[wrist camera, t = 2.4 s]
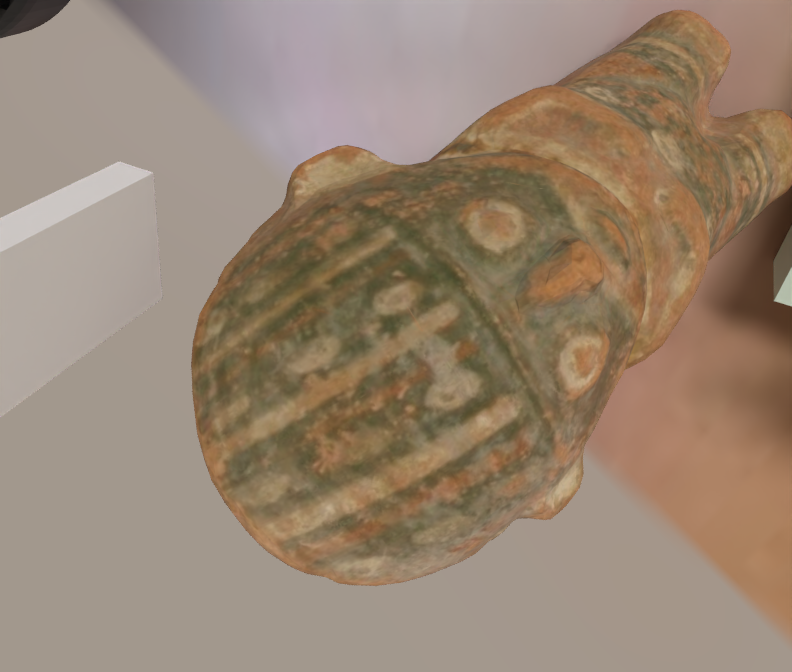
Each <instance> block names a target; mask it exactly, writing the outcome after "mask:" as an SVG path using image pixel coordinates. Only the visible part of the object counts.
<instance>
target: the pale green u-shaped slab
mask: <svg viewBox="0 0 792 672" xmlns="http://www.w3.org/2000/svg"><path fill="white" fill-rule="evenodd" d="M773 271H774V301H776V302H779V303H782V304H785V305H789V306H792V225H791V227H790V229H789V231H788V233H787V235H786V237H785V239H784V241H783V243H782V245H781V247H780V249H779V251H778V253H777V255H776V257H775V259H774V261H773Z"/></svg>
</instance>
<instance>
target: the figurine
mask: <svg viewBox="0 0 792 672" xmlns="http://www.w3.org/2000/svg"><path fill="white" fill-rule="evenodd" d="M730 54H731V49H730V46H729V43H728V41H727V40H726V39H725V37H724V36H723V35H722V34H721V33H720V32H719V31H717V30H716V29H715V28H714V27H713V26H712V25H711V24H710V23H709V22H708V21H707V20H706V19H704V18H703V17H701V16H700V15H698V14H696V13H694V12H691V11H684V10H674V11H670V12H667V13H663V14H661V15H658V16H656V17H655V18H653V19H652V20H650V21H649V22H648V23H646V24H645V25H644V26H643V27H641V28H640V29H639V30H638V31H636V32H635V33H634V34H633V35H631V36H630V37H629V38H628V39H626V40H625V41H623V42H622V43H621V44H619V45H618V46H617V47H615V48H614V49H612V50H611V51H610V52H608V53H606V54H604V55H602V56H600V57H598V58H596V59H594V60H592V61H591V62H589V63H587V64H586V65H584V66H582V67H581V68H579V69H578V70H576V71H574V72H573V73H571V74H570V75H568V76H567V77H565V78H564V79H562V80H561V81H559V82H558V83H556V84H555V85H553V86H551V85H549V86H544V87H540V88H535V89H532V90H530V91H528V92H526V93H524V94H521V95H519V96H517V97H515V98H513V99H510V100H508V101H506V102H504V103H502V104H500V105H499V106H497V107H495V108H493V109H491V110H490V111H489V112H487V113H486V114H485V115H483V116H482V117H481V118H479V119H478V120H476V121H475V122H474V123H473V124H472V125H471V126H469V127H468V128H467V129H466V130H465V131H464V132H462V133H461V134H460V135H459V136H458V137H457V138H455V139H454V140H453V141H452V142H451V143H450V144H449V145H448V146H446V147H445V148H444V149H443V150H441V151H440V152H439V153H438V154H437V155H435V156H434V157H433V158H432V159H431V160H429V161H428V162H423V163H418V164H413V165H397V164H393V163H390V162H387V161H384V160H382V159H381V158H379V157H378V156H376V155H375V154H374V153H372V152H370V151H367V150H365V149H362V148H358V147H354V146H349V145H345V146H337V147H335V148H332V149H330V150H327V151H325V152H323V153H320V154H318V155H316V156H314V157H312V158H310V159H309V160H307V161H305V162H303V163H301V164H300V165H298V166H297V167H296V169H295V170H294V171H293V172H292V175H291V178H290V180H289V183H288V187H287V194H286V198H285V200H284V202H283V205H282V207H281V208H280V209H279V210H278V211H276V213H274V214H273V215H272V216H271V217H270V218H269V219H268V220H267V221H266V222H265V223H263V224H262V225H261V226H260V227H259V228H258V229H257V230H256V231H255V232H254V233H253V234H252V236H251V237H250V239H249V241H248V242H247V243H246V244H245V245H244V247H243V248H242V249H241V250H240V251H239V252H238V253H237V254H236V256H235V257H234V258H233V259H232V260H231V261H230V262H229V263H228V264H227V266H225V268H224V270H223V272H222V274H221V276H220V277H219V280H218V284H217V285H216V287H215V288H214V290H213V291H212V293H211V295H210V296H209V298H208V300H207V302H206V304H205V305H204V307H203V309H202V311H201V313H200V315H199V319H198V324H197V328H196V332H195V336H194V340H193V349H192V362H191V367H192V389H193V391H192V392H193V401H194V410H195V418H196V427H197V434H198V438H199V442H200V445H201V449H202V452H203V456H204V460H205V462H206V466H207V468H208V471H209V474H210V476H211V480H212V482H213V483H214V485H215V487H216V488H217V490H218V492H219V493H220V495H221V497H222V499H223V500H224V502H225V503H226V505H227V506H228V507H229V509H230V510H231V511H232V513H233V514H234V515H235V517H236V518H237V519H238V521H239V522H240V523H241V524H242V526H243V527H244V528H245V529H246V531H247V532H248V533H249V534H250V535H251V536H252V537H253V538H254V539H255V540H256V541H257V543H259V544H260V545H261V546H262V547H263V548H264V549H265V550H266V551H268V552H269V553H270V554H272V555H273V556H275V557H276V558H278V559H280V560H281V561H282V562H284V563H285V564H287V565H289V566H291V567H293V568H295V569H297V570H299V571H302V572H304V573H307V574H311V575H317V576H323V577H327V578H329V579H331V580H333V581H335V582H337V583H341V584H348V585H369V586H378V585H386V584H393V583H401V582H405V581H409V580H412V579H416V578H419V577H423V576H426V575H429V574H432V573H435V572H437V571H439V570H442V569H444V568H447V567H449V566H451V565H454V564H457V563H459V562H461V561H463V560H465V559H467V558H469V557H470V556H472V555H474V554H475V553H477V552H478V551H479V550H480V549H481V548H482V547H483V546H484V545H485V544H486V543H487V542H488V541H490V540H493V539H494V538H496V537H497V536H498V535H500V534H501V533H502V532H503V531H504V530H505V529H506V528H507V527H508V526H509V525H510V523H511V522H513V521H514V520H516V519H518V518H533V519H542V520H547V519H551V518H553V517H554V516H555V515H556V514H558V513H559V512H560V511H561V510H562V509H563V508H564V507H565V506H566V505H567V504H568V503H569V501H570V500H571V499H572V497H573V496H574V495H575V493H576V492H577V490H578V489H579V487H580V484H581V481H582V477H583V452H584V446H585V444H586V442H587V441H588V439H589V437H590V436H591V434H592V432H593V431H594V429H595V427H596V424H597V422H598V420H599V418H600V416H601V414H602V412H603V410H604V408H605V406H606V404H607V402H608V400H609V397H610V396H611V394H612V392H613V390H614V388H615V387H616V385H617V383H618V381H619V379H620V377H621V376H622V374H623V372H624V370H625V369H628V368H630V367H631V366H633V365H635V364H637V363H639V362H641V361H643V360H645V359H647V358H648V357H649V356H650V355H651V354H652V353H654V352H655V351H656V350H657V349H658V348H660V347H661V346H662V345H663V344H664V342H665V341H666V339H667V338H668V336H669V335H670V333H671V332H672V330H673V329H674V327H675V326H676V324H677V323H678V321H679V320H680V318H681V316H682V315H683V313H684V312H685V310H686V308H687V307H688V305H689V303H690V301H691V300H692V298H693V296H694V295H695V293H696V291H697V289H698V287H699V284H700V282H701V280H702V278H703V276H704V273H705V270H706V266H707V263H708V261H709V260H710V259H711V258H712V257H713V256H714V254H716V253H717V252H718V251H719V250H720V249H722V248H723V247H724V246H725V245H726V244H727V243H728V242H729V241H730V240H731V239H732V238H733V237H734V236H736V235H737V234H738V233H739V232H740V231H741V230H742V229H744V228H745V227H746V226H747V225H748V224H749V223H750V222H751V221H753V220H754V219H755V218H756V217H757V216H758V215H759V214H760V213H761V212H762V211H763V210H764V209H765V208H766V207H767V206H768V205H769V204H770V203H772V202H773V201H774V200H776V199H777V198H779V197H780V196H781V195H783V194H784V193H786V192H787V191H788V189H789V188H790V187H791V186H792V119H791V118H790V117H789V116H788V115H787V114H785V113H784V112H783V111H781V110H768V109H757V110H753V111H748V112H744V113H741V114H738V115H734V116H731V117H727V118H722V117H712V116H711V114H710V113H709V108H708V105H709V102H710V100H711V97H712V94H713V92H714V90H715V88H716V87H717V85H718V83H719V82H720V80H721V78H722V76H723V74H724V72H725V70H726V68H727V67H728V63H729V59H730Z"/></svg>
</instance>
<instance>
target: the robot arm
mask: <svg viewBox="0 0 792 672" xmlns="http://www.w3.org/2000/svg"><path fill="white" fill-rule="evenodd" d="M69 1H70V0H0V38H3V37H6V36H11V35H15V34H19V33H22V32H25V31H29V30H32V29H34V28H36V27H38V26H40V25H42V24H44V23H45V22H47V21H48V20H50V19H51V18H53V17H54V16H55V15H56V14H58V13H59V12H60V10H62V9H63V8H64V7H65V6H66V5H67V3H68V2H69ZM162 298H163V297H162V283H161V269H160V256H159V242H158V229H157V216H156V200H155V186H154V173H152V172H150V171H146V170H144V169H140V168H137V167H134V166H131V165H128V164H126V163H123V162H120V161H119V162H117V163H115V164H112V165H110V166H108V167H106V168H104V169H102V170H100V171H98V172H96V173H93V174H91V175H89V176H87V177H85V178H83V179H81V180H79V181H77V182H75V183H73V184H70V185H68V186H66V187H64V188H62V189H60V190H58V191H56V192H53V193H52V194H49V195H47V196H45V197H43V198H41V199H39V200H37V201H35V202H32V203H31V204H28V205H26V206H24V207H22V208H20V209H18V210H16V211H13V212H11V213H9V214H7V215H5V216H3V217H1V218H0V417H1V416H3V415H4V414H6V413H7V412H8V411H10V410H11V409H12V408H14V407H15V406H16V405H18V404H19V403H20V402H22V401H23V400H25V399H26V398H27V397H29V396H30V395H31V394H33V393H34V392H36V391H37V390H38V389H39V388H41V387H42V386H44V385H45V384H46V383H47V382H49V381H51V380H52V379H53V378H55V377H56V376H57V375H59V374H60V373H61V372H63V371H64V370H66V369H67V368H68V367H70V366H71V365H72V364H74V363H75V362H76V361H78V360H79V359H80V358H82V357H83V356H85V355H86V354H87V353H89V352H90V351H91V350H93V349H94V348H96V347H97V346H98V345H100V344H101V343H102V342H104V341H105V340H106V339H108V338H109V337H111V336H112V335H113V334H114V333H116V332H117V331H119V330H120V329H121V328H123V327H124V326H126V325H127V324H128V323H129V322H131V321H132V320H134V319H135V318H136V317H138V316H139V315H141V314H142V313H143V312H144V311H146V310H147V309H149V308H150V307H151V306H153V305H154V304H156V303H157V302H158V301H160V300H161V299H162Z"/></svg>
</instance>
